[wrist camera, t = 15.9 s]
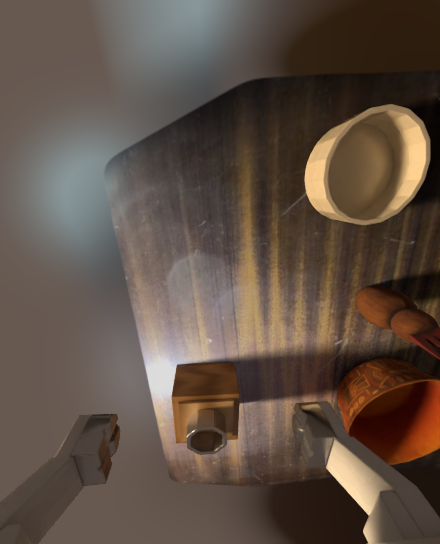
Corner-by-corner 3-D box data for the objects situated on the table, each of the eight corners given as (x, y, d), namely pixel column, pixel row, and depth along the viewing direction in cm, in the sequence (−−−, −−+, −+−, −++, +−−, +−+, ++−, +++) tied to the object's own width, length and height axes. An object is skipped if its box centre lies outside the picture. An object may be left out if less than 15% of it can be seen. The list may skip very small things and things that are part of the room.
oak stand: (180, 407, 46) (176, 443, 39) (176, 365, 42) (171, 397, 35) (233, 404, 46) (237, 439, 40) (234, 362, 43) (239, 393, 36)
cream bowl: (299, 220, 34) (316, 225, 29) (311, 117, 29) (334, 102, 24) (381, 219, 35) (411, 224, 30) (405, 120, 30) (446, 105, 25)
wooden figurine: (345, 310, 40) (420, 374, 26) (353, 280, 38) (439, 332, 24) (380, 310, 41) (473, 373, 27) (389, 281, 39) (495, 332, 25)
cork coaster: (181, 439, 39) (181, 442, 38) (178, 401, 36) (177, 404, 35) (232, 435, 39) (232, 438, 39) (233, 398, 36) (233, 401, 36)
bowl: (366, 428, 52) (402, 480, 42) (298, 395, 47) (322, 446, 37) (437, 366, 46) (496, 410, 37) (369, 322, 41) (417, 360, 32)
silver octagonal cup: (189, 436, 38) (187, 455, 35) (187, 410, 36) (185, 428, 33) (224, 434, 38) (226, 453, 36) (225, 407, 36) (227, 426, 33)
